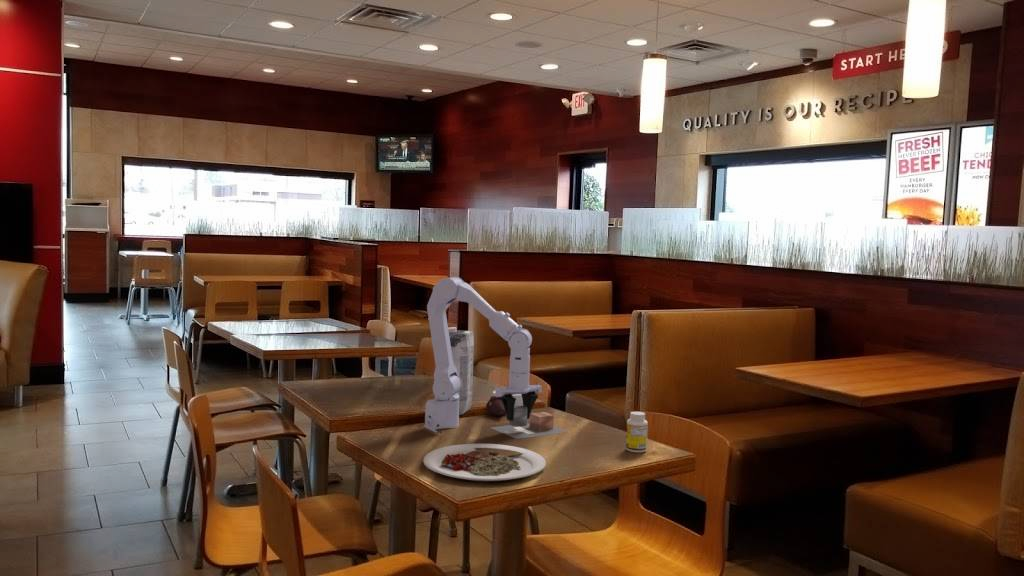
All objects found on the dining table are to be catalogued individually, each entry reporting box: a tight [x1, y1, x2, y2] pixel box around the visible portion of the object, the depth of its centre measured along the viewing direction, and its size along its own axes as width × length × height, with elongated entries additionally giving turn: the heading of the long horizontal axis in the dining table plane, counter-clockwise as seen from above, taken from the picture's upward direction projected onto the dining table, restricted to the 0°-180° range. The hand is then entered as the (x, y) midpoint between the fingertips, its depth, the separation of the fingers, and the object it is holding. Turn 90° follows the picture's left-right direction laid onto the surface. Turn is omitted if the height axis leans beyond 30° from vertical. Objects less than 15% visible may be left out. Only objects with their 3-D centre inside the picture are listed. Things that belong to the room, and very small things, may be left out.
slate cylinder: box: [508, 405, 528, 427], centre depth 224 cm, size 5×5×5 cm
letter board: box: [490, 422, 569, 440], centre depth 227 cm, size 18×14×1 cm
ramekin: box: [492, 389, 523, 406], centre depth 259 cm, size 11×11×5 cm
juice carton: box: [448, 326, 475, 416], centre depth 250 cm, size 9×10×27 cm
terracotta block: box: [529, 411, 555, 431], centre depth 229 cm, size 5×5×4 cm
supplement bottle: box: [625, 411, 649, 454], centre depth 212 cm, size 6×6×10 cm
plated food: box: [422, 443, 547, 482], centre depth 193 cm, size 30×30×3 cm
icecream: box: [485, 395, 506, 417], centre depth 244 cm, size 7×7×15 cm
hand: (518, 419), depth 224 cm, fingers closed on slate cylinder, 5 cm apart
